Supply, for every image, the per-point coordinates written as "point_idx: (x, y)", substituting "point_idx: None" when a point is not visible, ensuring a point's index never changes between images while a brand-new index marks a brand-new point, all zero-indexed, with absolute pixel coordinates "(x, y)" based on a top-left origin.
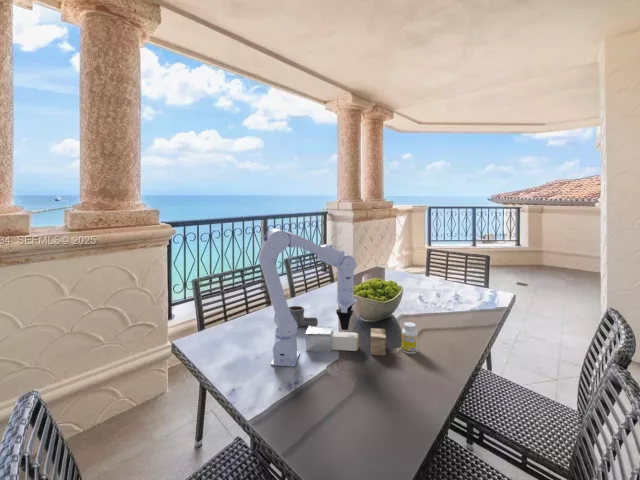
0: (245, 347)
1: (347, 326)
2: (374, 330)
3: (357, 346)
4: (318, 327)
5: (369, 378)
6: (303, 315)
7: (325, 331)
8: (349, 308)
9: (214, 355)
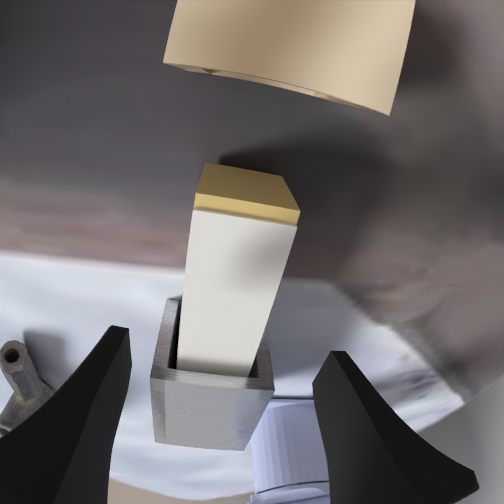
0: (210, 465)
1: (360, 379)
2: (231, 29)
3: (285, 187)
4: (168, 422)
5: (497, 184)
6: (19, 408)
7: (223, 406)
8: (82, 456)
9: (245, 481)
